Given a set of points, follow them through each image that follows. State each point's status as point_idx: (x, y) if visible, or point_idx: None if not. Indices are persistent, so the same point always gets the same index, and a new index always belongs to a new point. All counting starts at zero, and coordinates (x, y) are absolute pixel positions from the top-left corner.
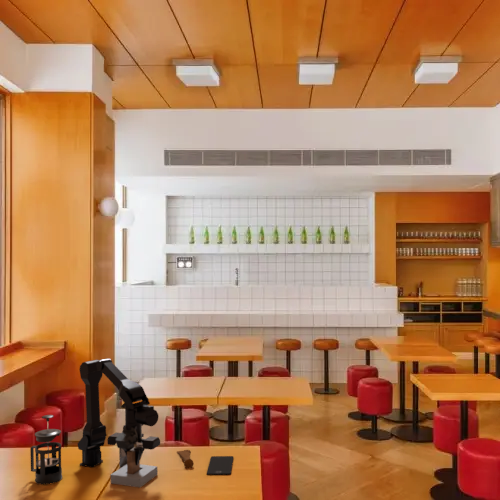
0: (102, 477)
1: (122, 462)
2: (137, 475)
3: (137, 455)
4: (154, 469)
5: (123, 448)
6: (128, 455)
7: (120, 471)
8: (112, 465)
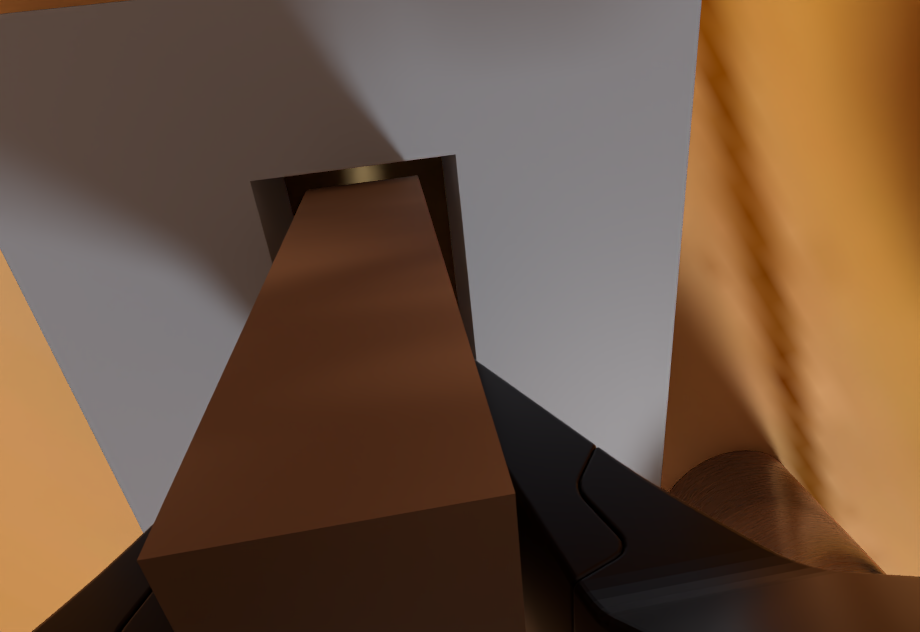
0: (857, 114)
1: (771, 500)
2: (132, 169)
3: (123, 569)
4: (145, 516)
5: (917, 625)
6: (401, 383)
7: (595, 185)
8: (872, 451)
